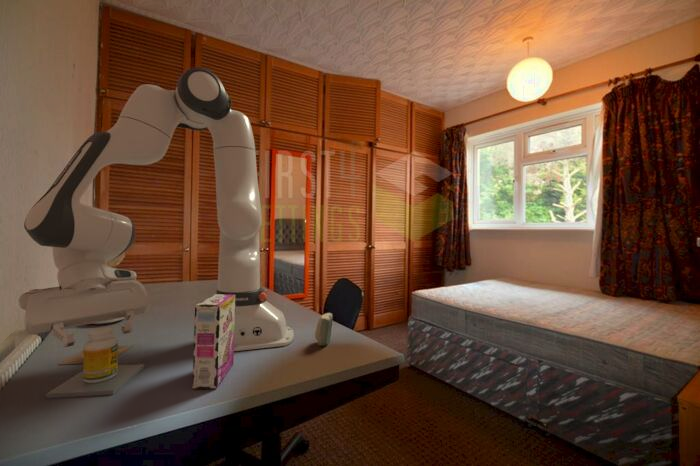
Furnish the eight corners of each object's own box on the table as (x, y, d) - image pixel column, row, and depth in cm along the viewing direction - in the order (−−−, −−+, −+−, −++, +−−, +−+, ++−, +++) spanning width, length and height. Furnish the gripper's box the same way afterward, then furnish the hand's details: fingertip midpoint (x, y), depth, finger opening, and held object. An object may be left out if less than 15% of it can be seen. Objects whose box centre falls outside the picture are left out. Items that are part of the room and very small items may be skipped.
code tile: (132, 346, 79) (132, 345, 79) (107, 362, 69) (107, 362, 69) (89, 347, 78) (89, 347, 78) (58, 364, 68) (58, 364, 68)
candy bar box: (218, 389, 59) (219, 305, 59) (191, 390, 58) (192, 305, 58) (235, 364, 70) (236, 293, 70) (212, 364, 70) (213, 293, 70)
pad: (144, 367, 67) (144, 364, 67) (113, 394, 56) (113, 390, 56) (89, 370, 66) (89, 366, 66) (46, 398, 55) (46, 393, 55)
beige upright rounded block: (337, 346, 82) (337, 316, 82) (318, 349, 80) (319, 318, 80) (330, 339, 87) (330, 311, 87) (312, 341, 85) (313, 313, 85)
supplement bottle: (86, 374, 62) (87, 328, 62) (119, 369, 65) (119, 324, 65) (80, 386, 57) (80, 336, 57) (115, 380, 60) (116, 331, 60)
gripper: (19, 281, 58) (27, 344, 52) (143, 270, 74) (159, 318, 68) (15, 301, 60) (23, 363, 54) (135, 286, 77) (151, 333, 71)
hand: (100, 338), depth 61 cm, fingers open, 8 cm apart
